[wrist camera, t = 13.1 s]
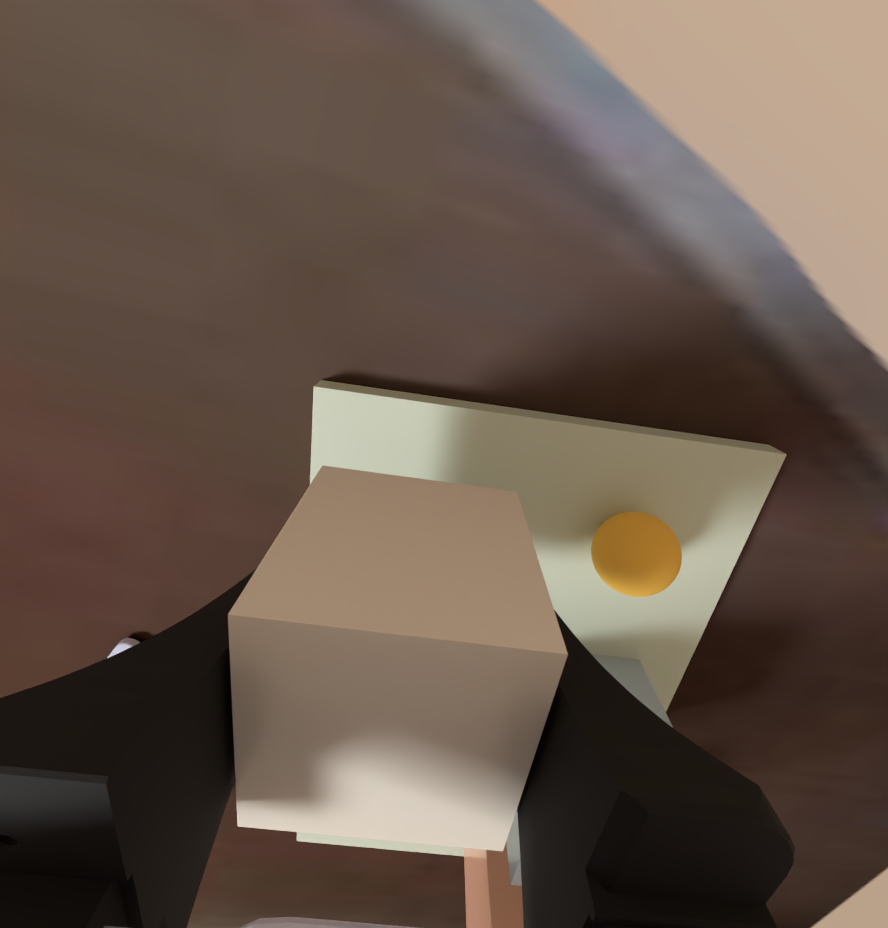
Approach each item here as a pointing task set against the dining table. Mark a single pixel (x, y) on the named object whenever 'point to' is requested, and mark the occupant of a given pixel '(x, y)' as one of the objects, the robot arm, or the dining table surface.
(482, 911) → the salmon pink cube
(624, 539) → the orange ball
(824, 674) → the dining table surface
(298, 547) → the tan cuboid
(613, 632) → the sage board
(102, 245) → the dining table surface
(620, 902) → the robot arm
